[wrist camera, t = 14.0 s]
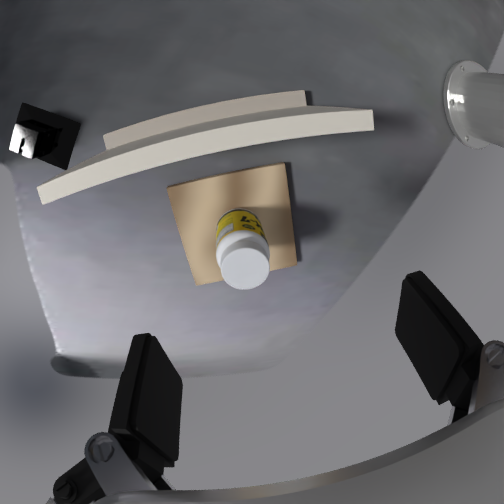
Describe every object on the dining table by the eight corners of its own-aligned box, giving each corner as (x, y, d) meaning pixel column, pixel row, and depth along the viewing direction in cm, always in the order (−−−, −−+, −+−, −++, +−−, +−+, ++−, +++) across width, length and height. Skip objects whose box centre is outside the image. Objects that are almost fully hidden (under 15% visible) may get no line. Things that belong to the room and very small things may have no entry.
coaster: (282, 162, 29) (284, 163, 28) (295, 261, 34) (297, 265, 34) (167, 186, 28) (166, 188, 28) (196, 281, 34) (196, 285, 34)
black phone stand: (4, 148, 23) (-18, 157, 19) (19, 91, 20) (-4, 93, 16) (77, 180, 27) (59, 192, 23) (98, 118, 24) (80, 122, 20)
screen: (301, 90, 25) (369, 82, 13) (307, 131, 27) (375, 157, 15) (106, 134, 25) (29, 163, 13) (117, 173, 27) (51, 228, 15)
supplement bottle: (270, 226, 31) (287, 268, 24) (239, 255, 32) (246, 303, 25) (237, 197, 29) (245, 232, 22) (206, 229, 30) (203, 272, 23)
